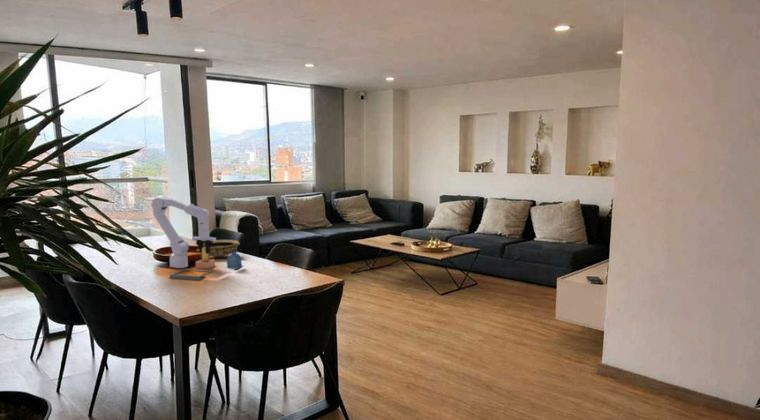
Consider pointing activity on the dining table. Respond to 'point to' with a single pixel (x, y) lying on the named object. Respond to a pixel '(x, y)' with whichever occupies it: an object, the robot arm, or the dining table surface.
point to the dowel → (204, 254)
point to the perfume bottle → (234, 260)
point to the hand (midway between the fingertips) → (204, 253)
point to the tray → (189, 275)
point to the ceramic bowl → (222, 248)
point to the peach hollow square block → (205, 264)
